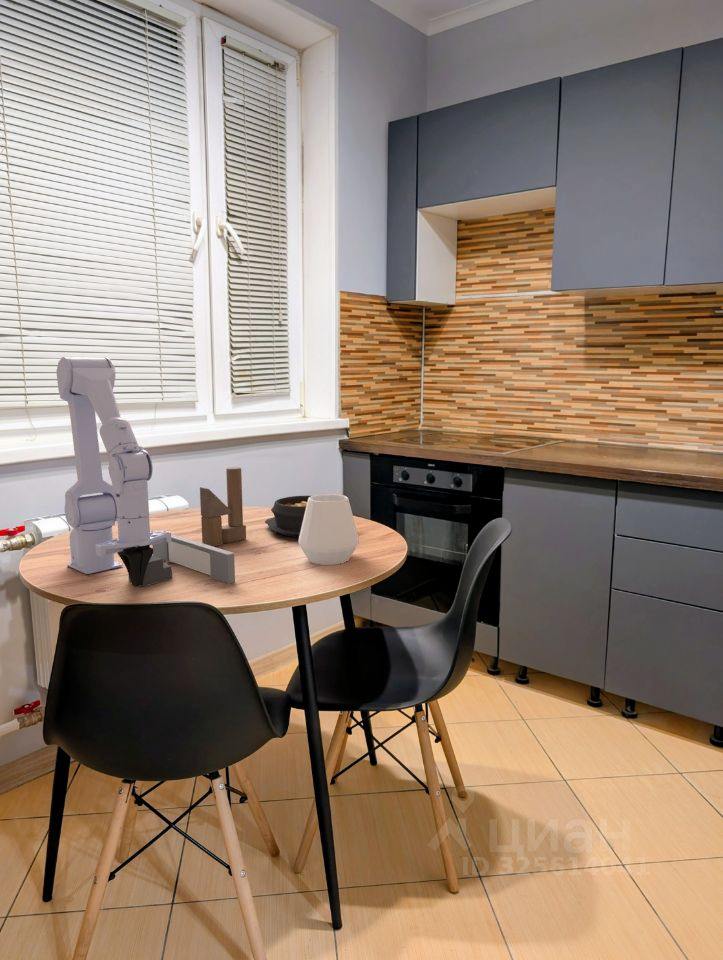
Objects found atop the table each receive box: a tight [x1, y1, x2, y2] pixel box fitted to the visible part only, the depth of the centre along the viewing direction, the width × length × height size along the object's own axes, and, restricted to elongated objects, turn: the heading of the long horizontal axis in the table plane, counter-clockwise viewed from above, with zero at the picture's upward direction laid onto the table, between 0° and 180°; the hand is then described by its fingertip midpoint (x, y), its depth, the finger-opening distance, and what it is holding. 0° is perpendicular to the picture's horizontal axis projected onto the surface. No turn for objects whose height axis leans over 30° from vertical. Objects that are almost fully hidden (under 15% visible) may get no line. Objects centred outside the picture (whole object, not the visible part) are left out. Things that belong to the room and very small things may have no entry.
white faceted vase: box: [297, 493, 360, 566], centre depth 148 cm, size 13×13×14 cm
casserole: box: [264, 495, 312, 538], centre depth 173 cm, size 25×19×8 cm
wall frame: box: [151, 529, 236, 585], centre depth 142 cm, size 28×2×6 cm, turn 48°
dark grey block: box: [128, 555, 173, 588], centre depth 134 cm, size 4×7×4 cm, turn 142°
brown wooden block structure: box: [199, 466, 247, 547], centre depth 162 cm, size 4×11×18 cm, turn 138°
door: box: [168, 540, 211, 576], centre depth 142 cm, size 15×1×5 cm, turn 48°
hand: (137, 584), depth 129 cm, fingers closed
